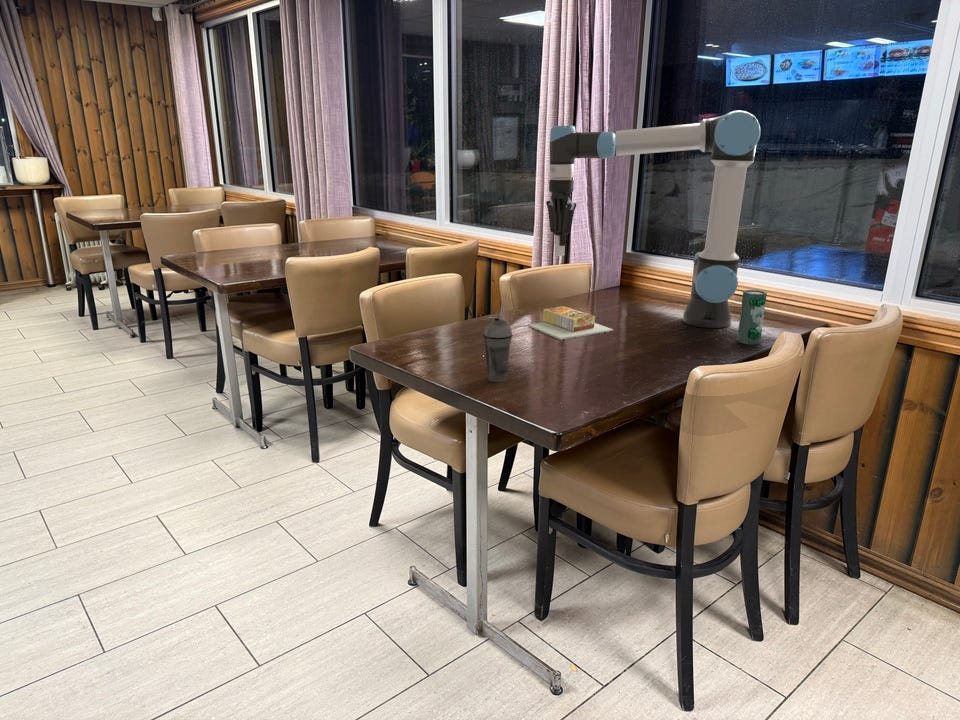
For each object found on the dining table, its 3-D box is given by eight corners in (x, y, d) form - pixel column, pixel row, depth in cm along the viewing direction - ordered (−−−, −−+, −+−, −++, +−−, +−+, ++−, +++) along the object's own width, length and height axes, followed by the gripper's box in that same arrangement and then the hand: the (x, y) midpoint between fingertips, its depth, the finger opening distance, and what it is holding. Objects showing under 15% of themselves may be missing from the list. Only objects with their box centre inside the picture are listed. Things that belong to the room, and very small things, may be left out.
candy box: (563, 305, 221) (595, 314, 209) (563, 318, 222) (594, 327, 210) (542, 309, 216) (574, 319, 204) (542, 321, 217) (573, 332, 205)
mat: (612, 331, 209) (612, 329, 208) (560, 340, 199) (560, 338, 199) (578, 318, 224) (578, 316, 223) (528, 326, 214) (528, 324, 214)
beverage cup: (481, 374, 170) (481, 298, 164) (509, 373, 170) (510, 297, 164) (484, 384, 163) (484, 305, 157) (513, 383, 164) (514, 304, 157)
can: (754, 345, 194) (761, 295, 189) (734, 341, 197) (740, 292, 193) (762, 341, 198) (769, 291, 193) (742, 337, 202) (748, 289, 197)
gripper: (539, 178, 207) (538, 254, 214) (564, 180, 196) (562, 259, 204) (559, 177, 211) (557, 252, 218) (584, 179, 200) (581, 257, 207)
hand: (559, 255), depth 211 cm, fingers closed
